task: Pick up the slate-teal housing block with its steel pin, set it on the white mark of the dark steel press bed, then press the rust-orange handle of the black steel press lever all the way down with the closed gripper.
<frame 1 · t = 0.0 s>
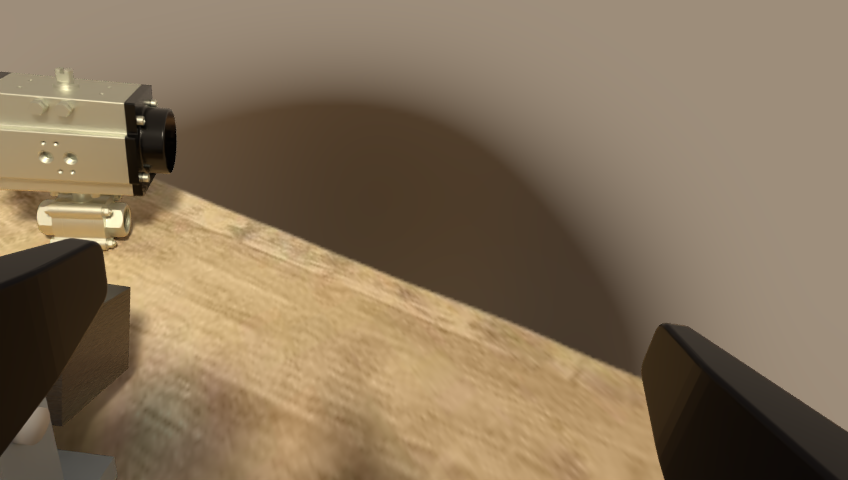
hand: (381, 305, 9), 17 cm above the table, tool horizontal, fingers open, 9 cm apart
pneumatic valve: (87, 245, 40), on the table
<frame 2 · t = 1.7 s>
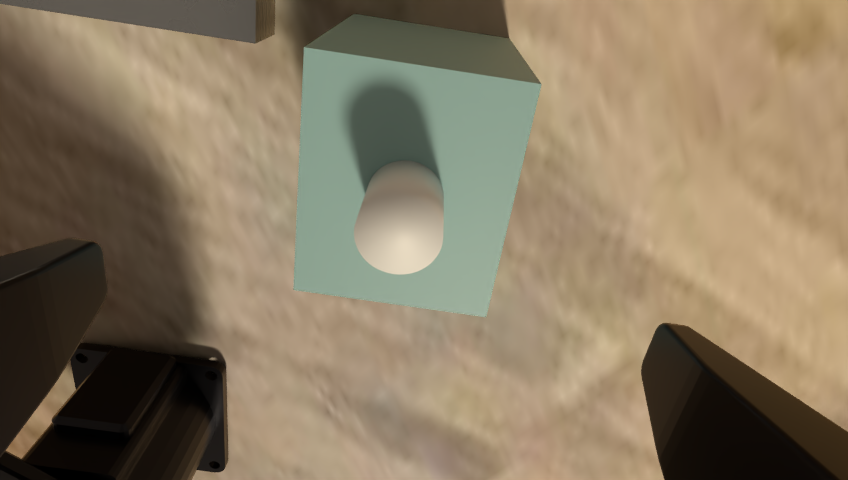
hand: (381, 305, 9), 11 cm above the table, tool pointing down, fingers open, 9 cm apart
housing: (418, 117, 19), on the table
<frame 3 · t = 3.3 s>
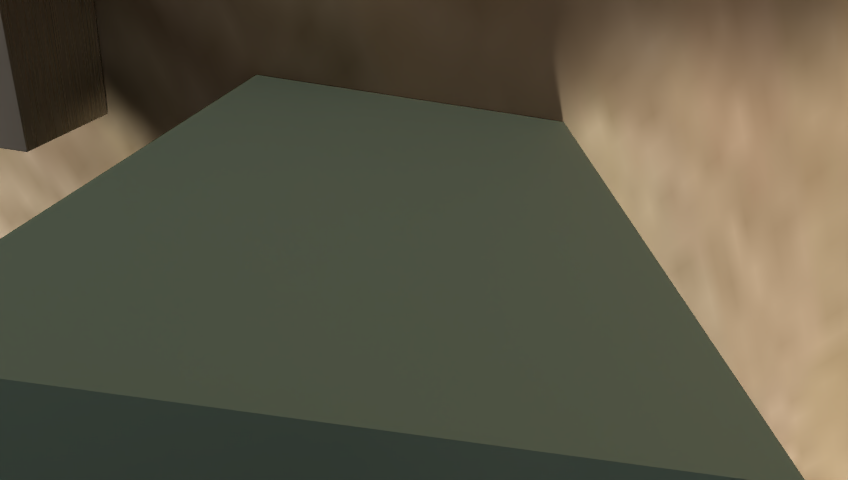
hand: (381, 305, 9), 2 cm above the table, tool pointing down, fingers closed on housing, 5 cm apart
housing: (390, 258, 10), on the table, touching gripper
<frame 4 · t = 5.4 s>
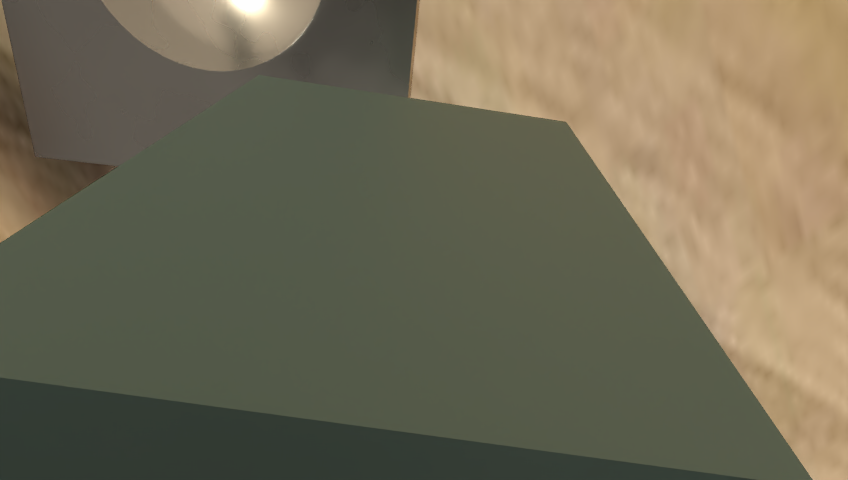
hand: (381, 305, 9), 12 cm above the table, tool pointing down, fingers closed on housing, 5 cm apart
housing: (392, 259, 10), point 10 cm above the table, touching gripper
when the fingers open (4 cm above the table, at t = 7.6 s): housing stays where it is, resting on press bed.
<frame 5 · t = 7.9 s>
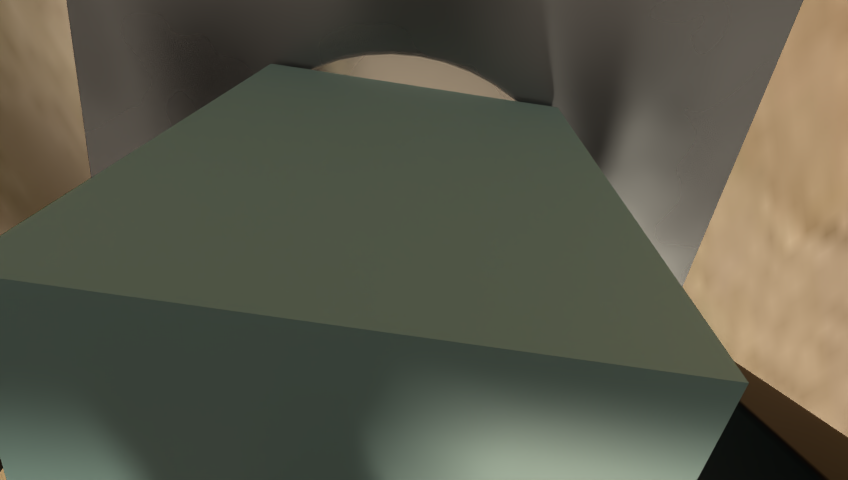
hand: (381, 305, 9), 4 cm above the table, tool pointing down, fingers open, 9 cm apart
press bed: (402, 195, 13), on the table
housing: (395, 238, 11), point 2 cm above the table, touching press bed
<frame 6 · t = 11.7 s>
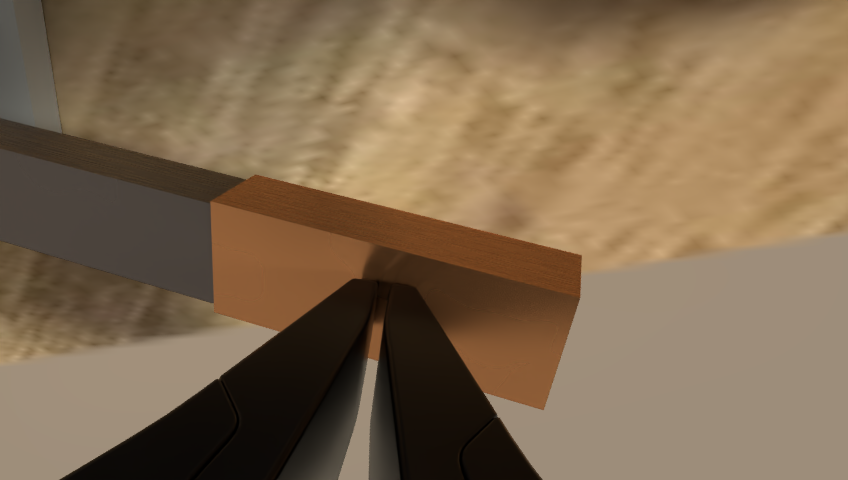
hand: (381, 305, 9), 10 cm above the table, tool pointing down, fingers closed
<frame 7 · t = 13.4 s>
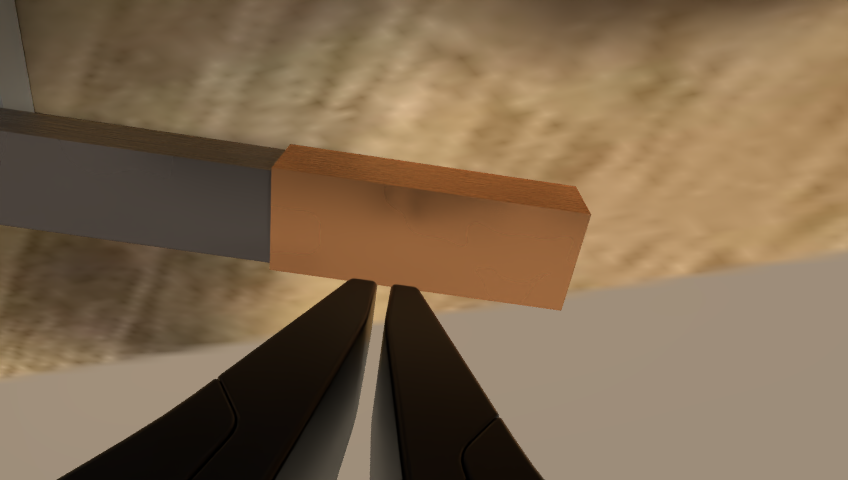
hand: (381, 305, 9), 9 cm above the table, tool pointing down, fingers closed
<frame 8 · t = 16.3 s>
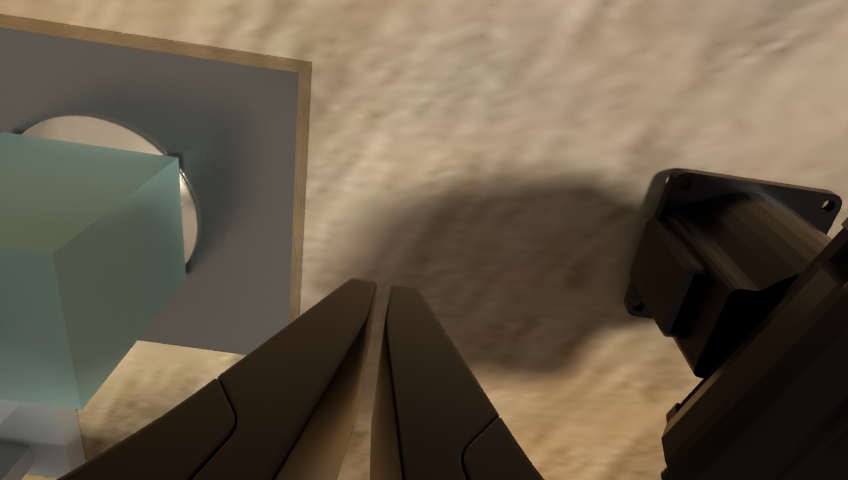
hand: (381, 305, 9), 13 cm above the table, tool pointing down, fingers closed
press bed: (131, 188, 23), on the table
housing: (100, 209, 21), point 2 cm above the table, touching press bed
lever stand: (16, 405, 28), on the table
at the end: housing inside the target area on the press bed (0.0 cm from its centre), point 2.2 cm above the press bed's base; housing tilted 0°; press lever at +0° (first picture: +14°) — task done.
